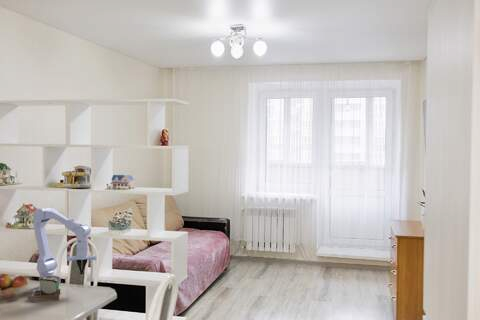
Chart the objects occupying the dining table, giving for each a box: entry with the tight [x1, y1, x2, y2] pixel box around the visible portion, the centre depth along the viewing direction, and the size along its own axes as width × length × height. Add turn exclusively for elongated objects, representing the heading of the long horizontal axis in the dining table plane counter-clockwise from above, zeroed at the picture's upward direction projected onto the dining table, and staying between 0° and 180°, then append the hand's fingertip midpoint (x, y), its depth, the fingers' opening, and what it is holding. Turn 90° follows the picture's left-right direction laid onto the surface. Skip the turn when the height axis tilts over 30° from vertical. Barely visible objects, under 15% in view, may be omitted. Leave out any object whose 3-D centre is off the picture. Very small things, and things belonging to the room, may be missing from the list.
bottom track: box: [30, 288, 61, 303], centre depth 241 cm, size 11×13×3 cm
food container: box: [38, 275, 62, 296], centre depth 243 cm, size 12×6×10 cm, turn 69°
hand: (81, 273), depth 250 cm, fingers closed
